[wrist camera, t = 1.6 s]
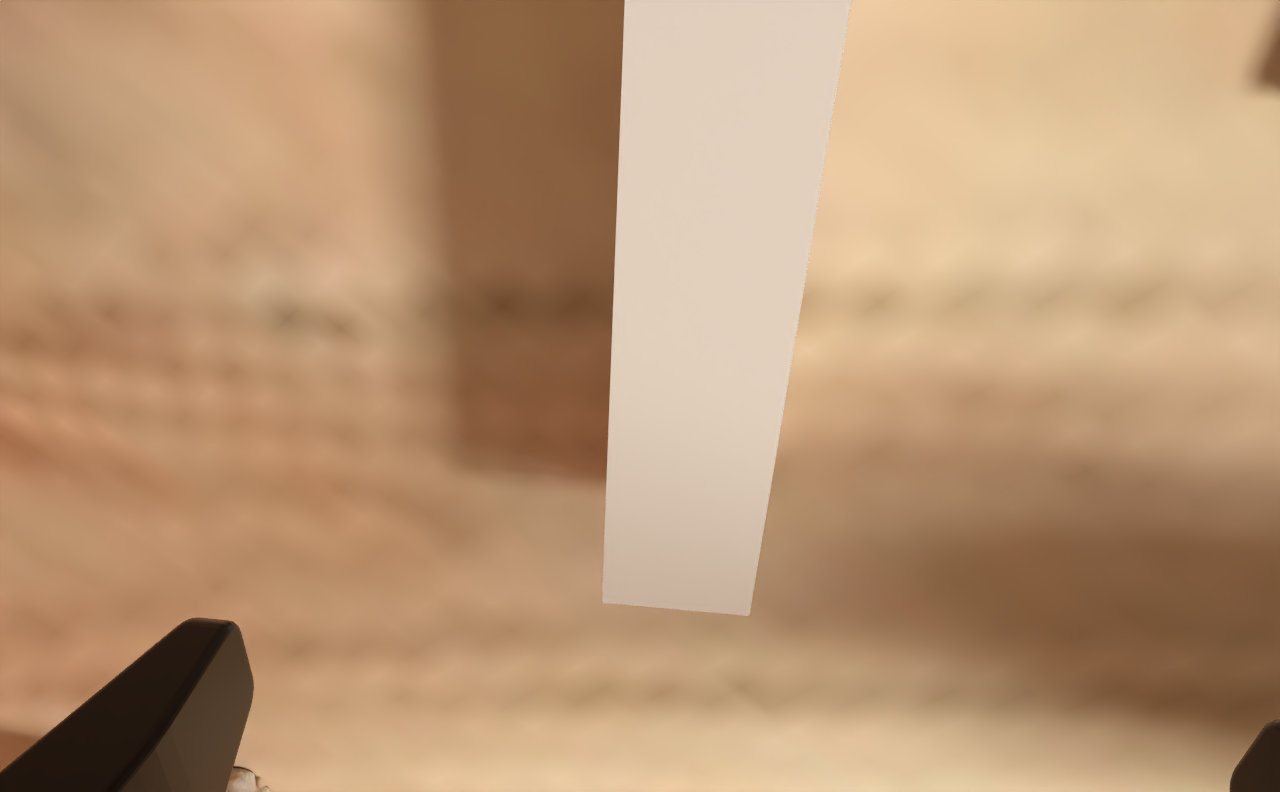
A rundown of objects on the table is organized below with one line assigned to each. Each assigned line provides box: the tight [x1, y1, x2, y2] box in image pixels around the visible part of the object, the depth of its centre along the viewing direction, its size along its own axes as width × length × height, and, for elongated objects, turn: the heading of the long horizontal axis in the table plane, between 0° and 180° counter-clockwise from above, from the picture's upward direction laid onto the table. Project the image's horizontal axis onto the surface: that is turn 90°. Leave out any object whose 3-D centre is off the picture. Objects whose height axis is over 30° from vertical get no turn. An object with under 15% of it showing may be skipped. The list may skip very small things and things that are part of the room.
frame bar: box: [602, 0, 852, 616], centre depth 18 cm, size 16×3×4 cm, turn 177°
